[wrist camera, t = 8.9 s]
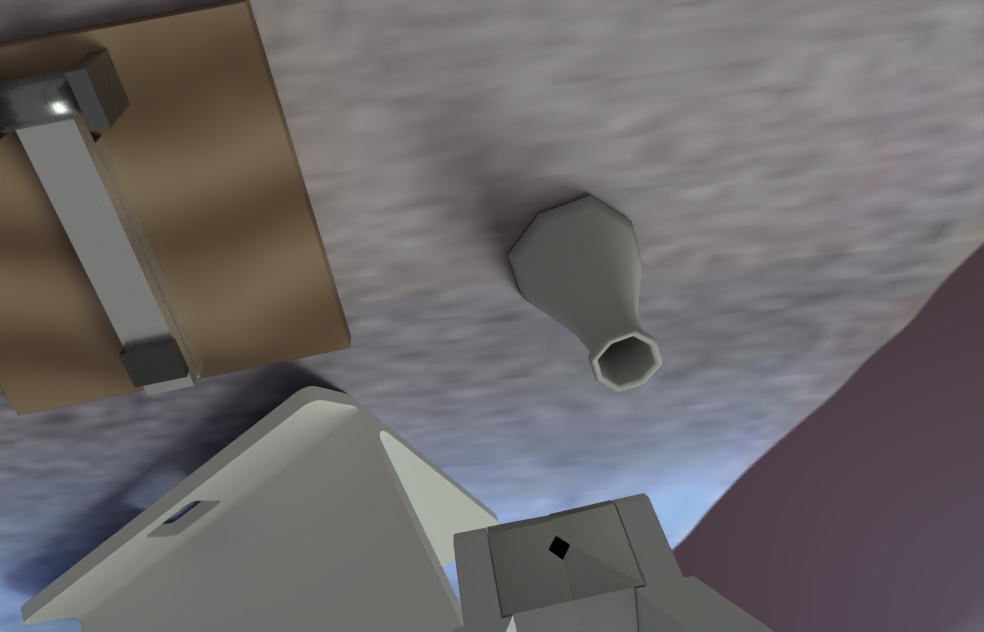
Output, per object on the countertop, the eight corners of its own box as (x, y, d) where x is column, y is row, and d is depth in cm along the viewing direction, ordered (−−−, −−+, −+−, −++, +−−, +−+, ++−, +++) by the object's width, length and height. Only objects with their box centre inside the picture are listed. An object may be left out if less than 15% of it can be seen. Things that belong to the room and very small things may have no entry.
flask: (483, 251, 42) (514, 358, 34) (594, 170, 41) (655, 260, 32) (557, 335, 46) (601, 450, 37) (662, 263, 44) (733, 367, 36)
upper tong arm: (-7, 78, 33) (-29, 92, 31) (79, 61, 33) (63, 75, 31) (142, 380, 41) (133, 405, 39) (210, 366, 41) (204, 390, 40)
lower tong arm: (-31, 74, 33) (-66, 97, 30) (107, 48, 33) (85, 68, 30) (127, 382, 42) (110, 420, 39) (234, 360, 42) (226, 396, 39)
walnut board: (-174, 75, 33) (-190, 83, 32) (248, -3, 34) (244, 2, 33) (26, 401, 43) (18, 415, 42) (350, 335, 44) (350, 347, 43)
